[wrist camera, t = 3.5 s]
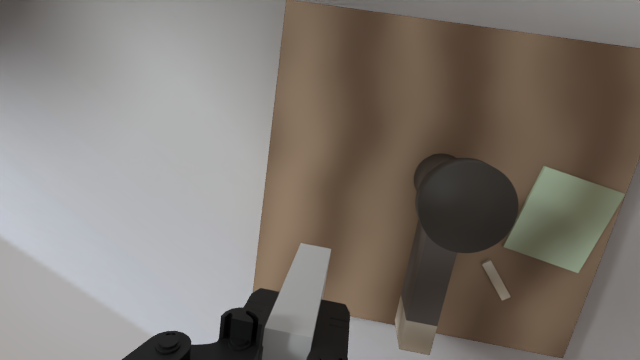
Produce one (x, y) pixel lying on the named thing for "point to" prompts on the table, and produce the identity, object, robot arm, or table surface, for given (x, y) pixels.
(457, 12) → the table surface
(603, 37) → the table surface
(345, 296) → the board
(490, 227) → the peg
